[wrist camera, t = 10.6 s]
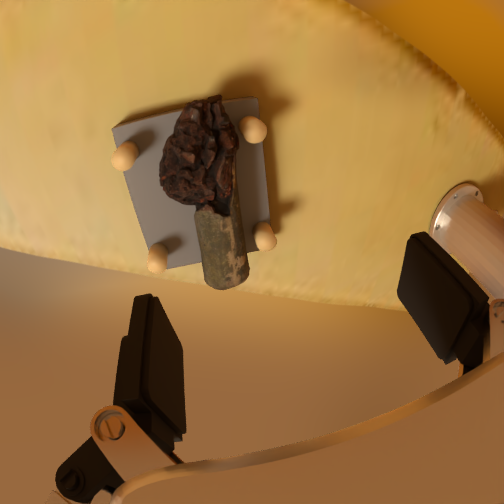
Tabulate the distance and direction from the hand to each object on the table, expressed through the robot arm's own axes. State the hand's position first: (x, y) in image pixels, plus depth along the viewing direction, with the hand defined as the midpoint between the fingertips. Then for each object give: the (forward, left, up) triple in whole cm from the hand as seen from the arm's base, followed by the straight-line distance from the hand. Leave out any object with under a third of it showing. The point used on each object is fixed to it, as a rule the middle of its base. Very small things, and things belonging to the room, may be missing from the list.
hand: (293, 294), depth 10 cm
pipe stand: (+3, +4, -21) cm, 22 cm away
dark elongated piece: (+3, +4, -19) cm, 20 cm away
